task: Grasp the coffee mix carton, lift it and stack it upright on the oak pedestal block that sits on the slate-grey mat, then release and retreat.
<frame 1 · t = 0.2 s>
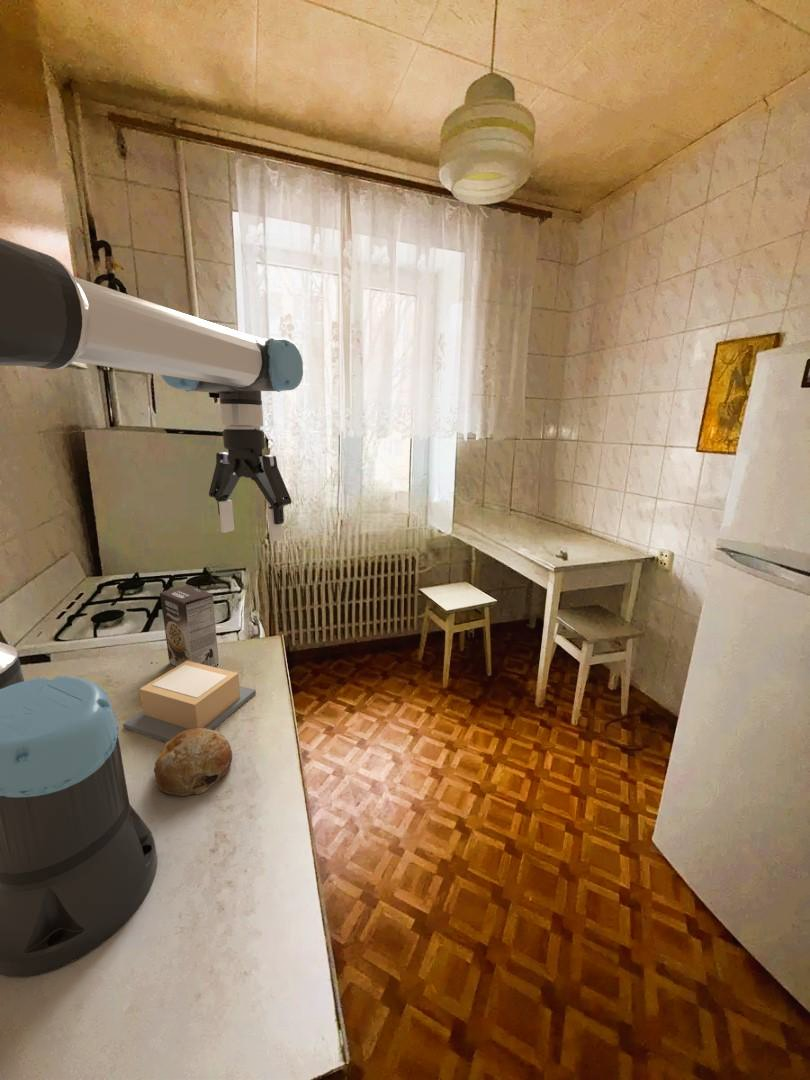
hand: (251, 535, 90), 27 cm above the kitchen counter, fingers open, 13 cm apart
bread roll: (193, 772, 65), on the kitchen counter
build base: (193, 709, 78), on the kitchen counter
coffee box: (194, 664, 93), on the kitchen counter
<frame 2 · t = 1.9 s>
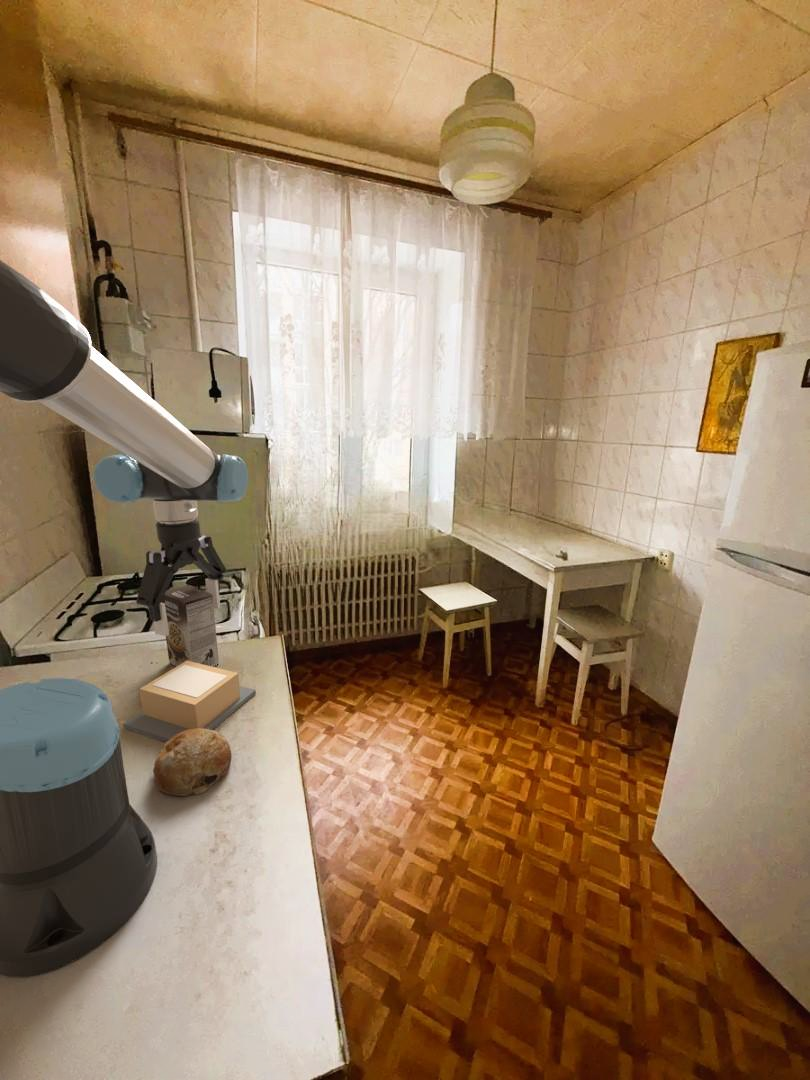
hand: (190, 620, 91), 10 cm above the kitchen counter, fingers open, 13 cm apart
nothing on the kitchen counter moved.
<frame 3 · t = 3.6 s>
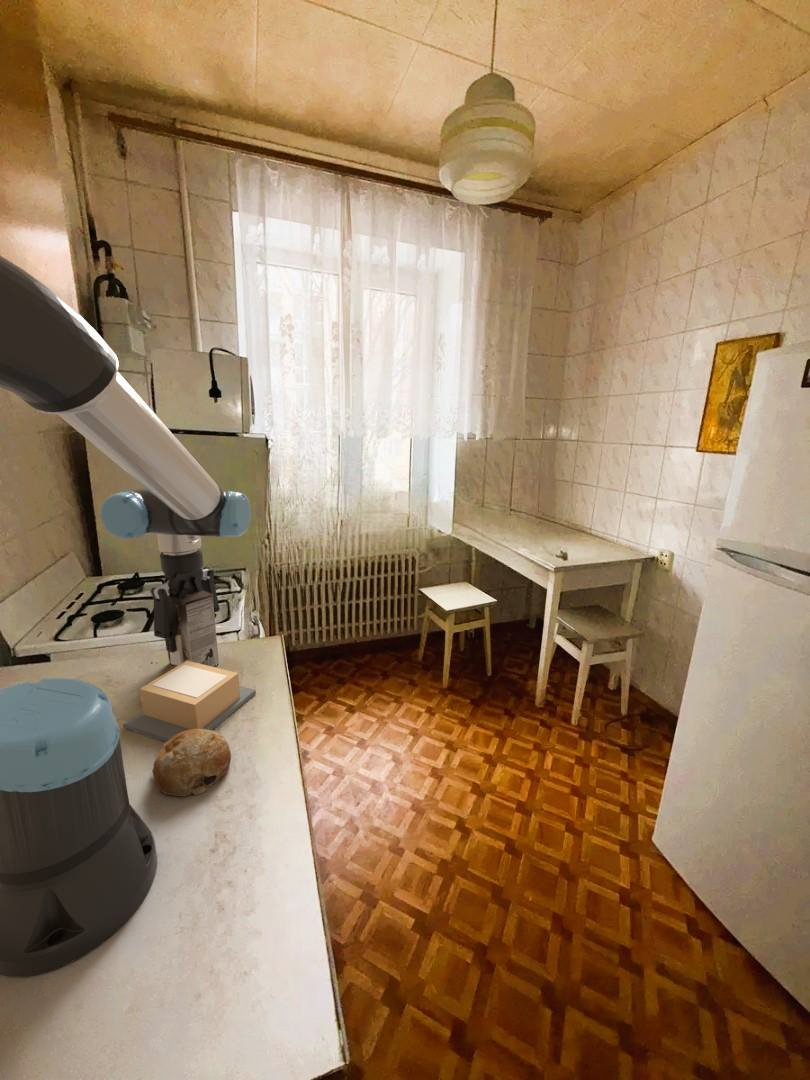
hand: (193, 654, 92), 2 cm above the kitchen counter, fingers closed on coffee box, 7 cm apart
coffee box: (194, 664, 93), on the kitchen counter, touching gripper
everything else where it was.
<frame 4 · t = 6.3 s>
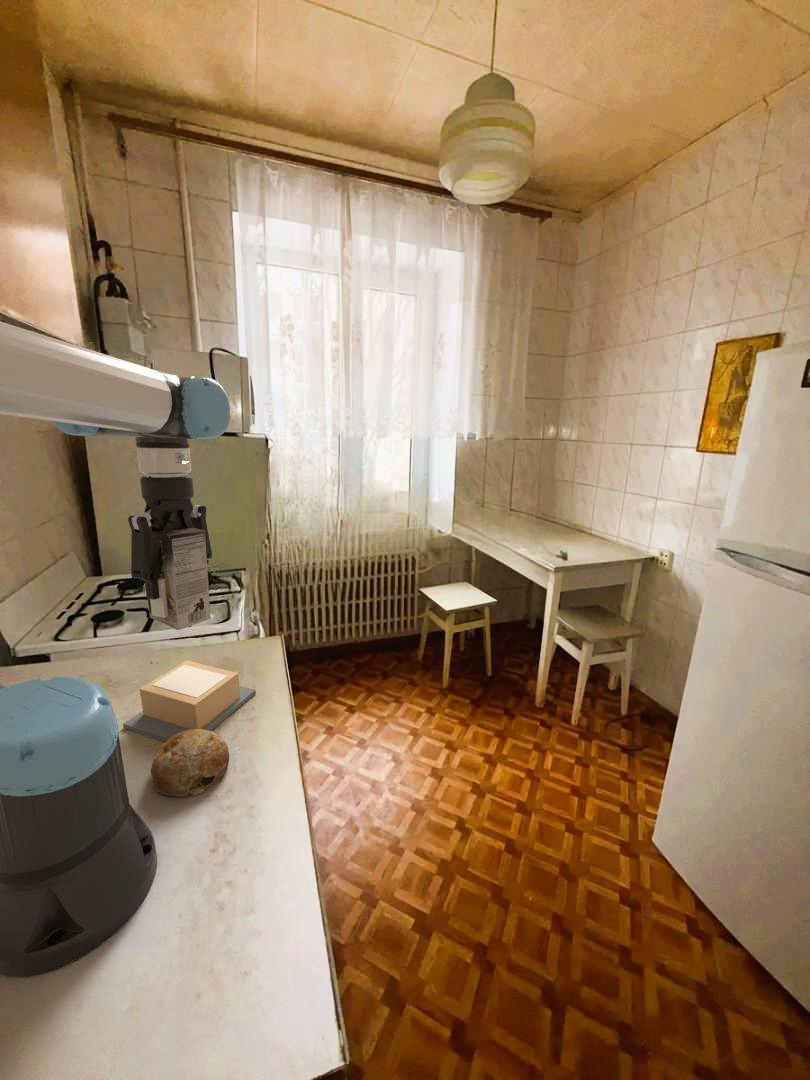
hand: (179, 607, 76), 18 cm above the kitchen counter, fingers closed on coffee box, 7 cm apart
coffee box: (180, 619, 77), point 16 cm above the kitchen counter, touching gripper
everything else where it was.
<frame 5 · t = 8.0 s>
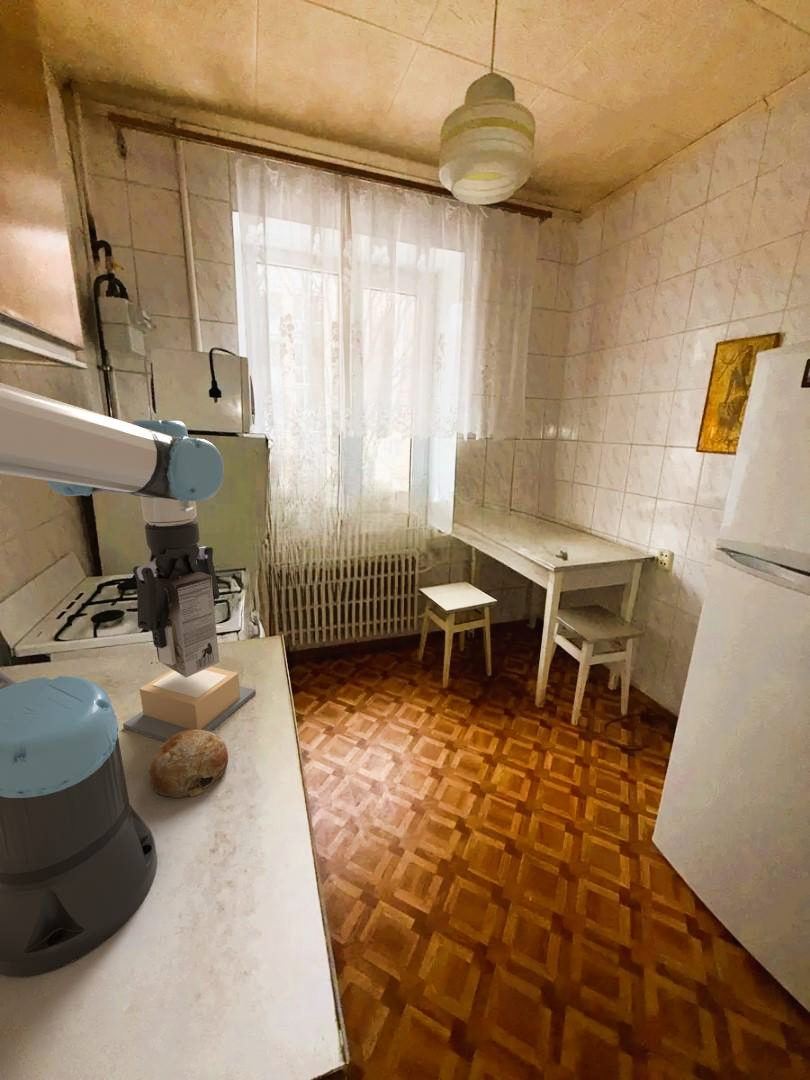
hand: (187, 651, 75), 11 cm above the kitchen counter, fingers closed on coffee box, 7 cm apart
coffee box: (189, 663, 76), point 9 cm above the kitchen counter, touching gripper
everything else where it was.
when the fingers open (9 cm above the kitchen counter, at t = 9.3 s): coffee box drops 1 cm, resting on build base.
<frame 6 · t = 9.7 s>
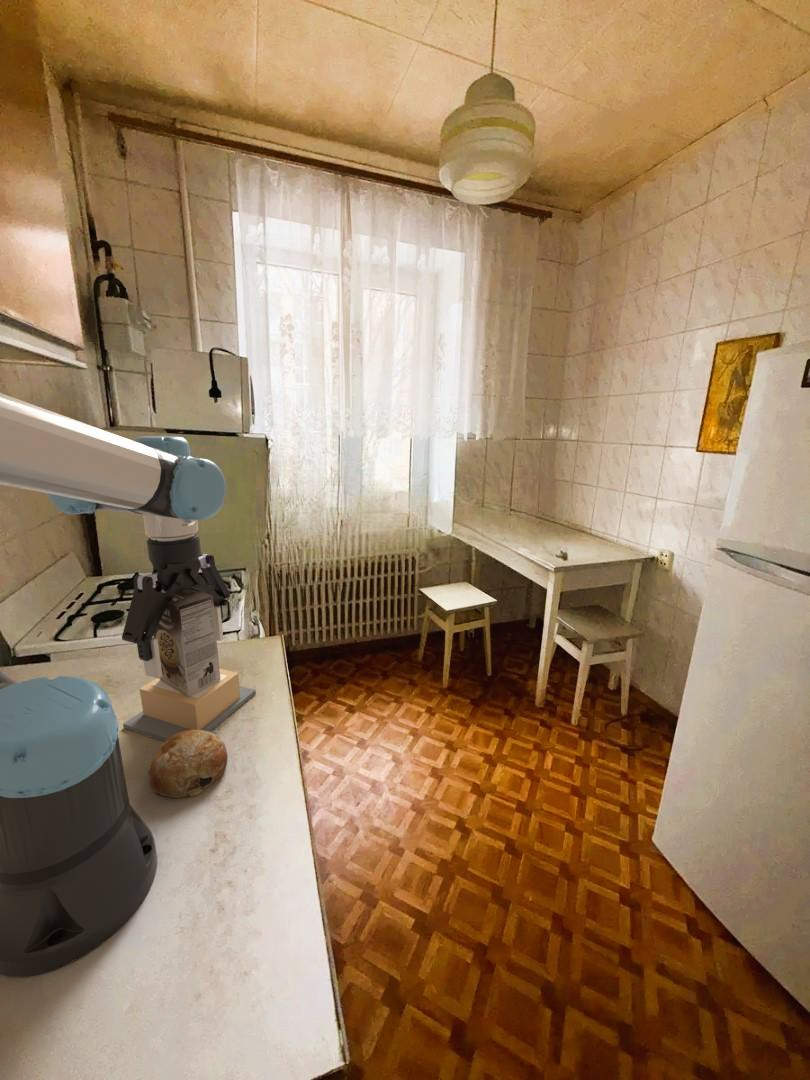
hand: (187, 656, 75), 11 cm above the kitchen counter, fingers open, 13 cm apart
coffee box: (190, 681, 77), point 6 cm above the kitchen counter, touching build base
everything else where it was.
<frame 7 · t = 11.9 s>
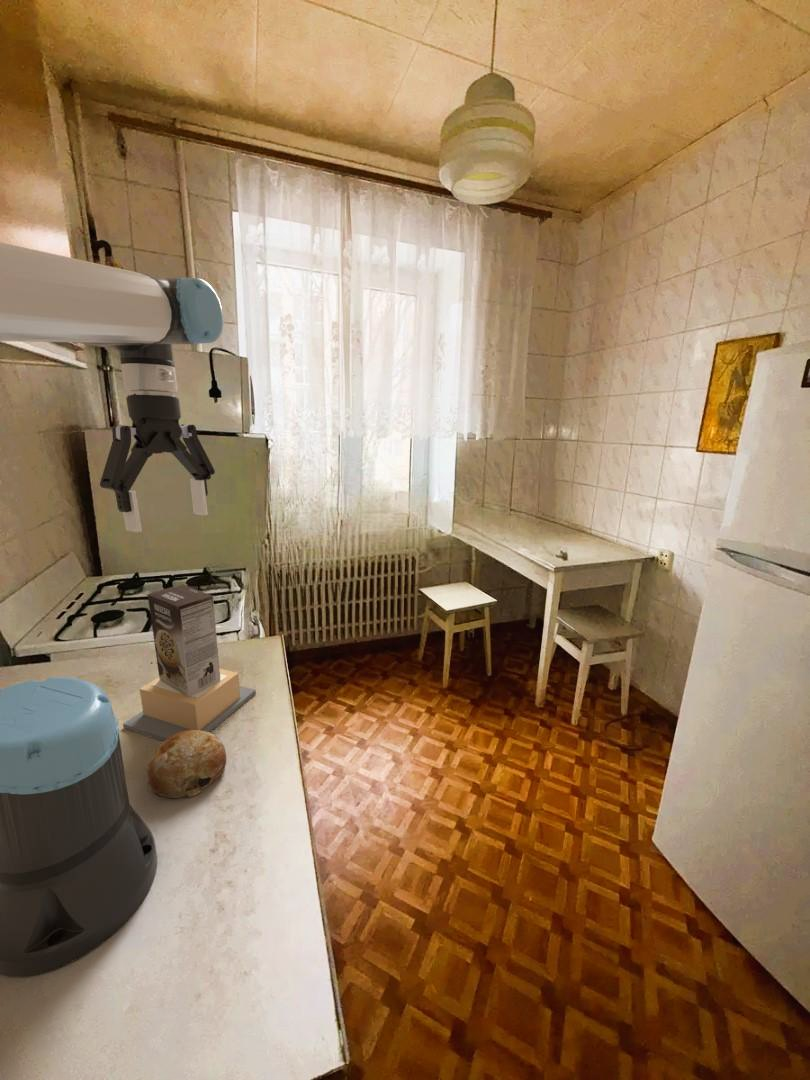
hand: (170, 522, 77), 32 cm above the kitchen counter, fingers open, 13 cm apart
nothing on the kitchen counter moved.
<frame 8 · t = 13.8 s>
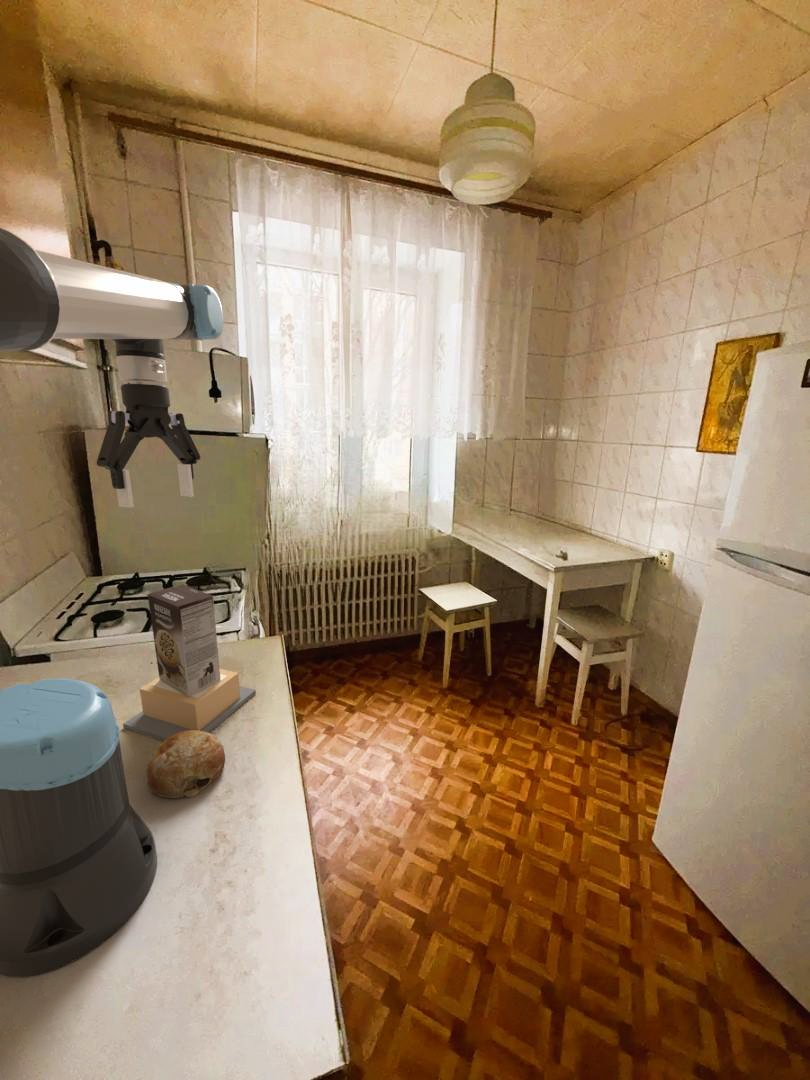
hand: (159, 501, 84), 35 cm above the kitchen counter, fingers open, 13 cm apart
nothing on the kitchen counter moved.
at the end: coffee box 0.1 cm from the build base (horizontally); coffee box touching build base; coffee box tilted 0° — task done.
